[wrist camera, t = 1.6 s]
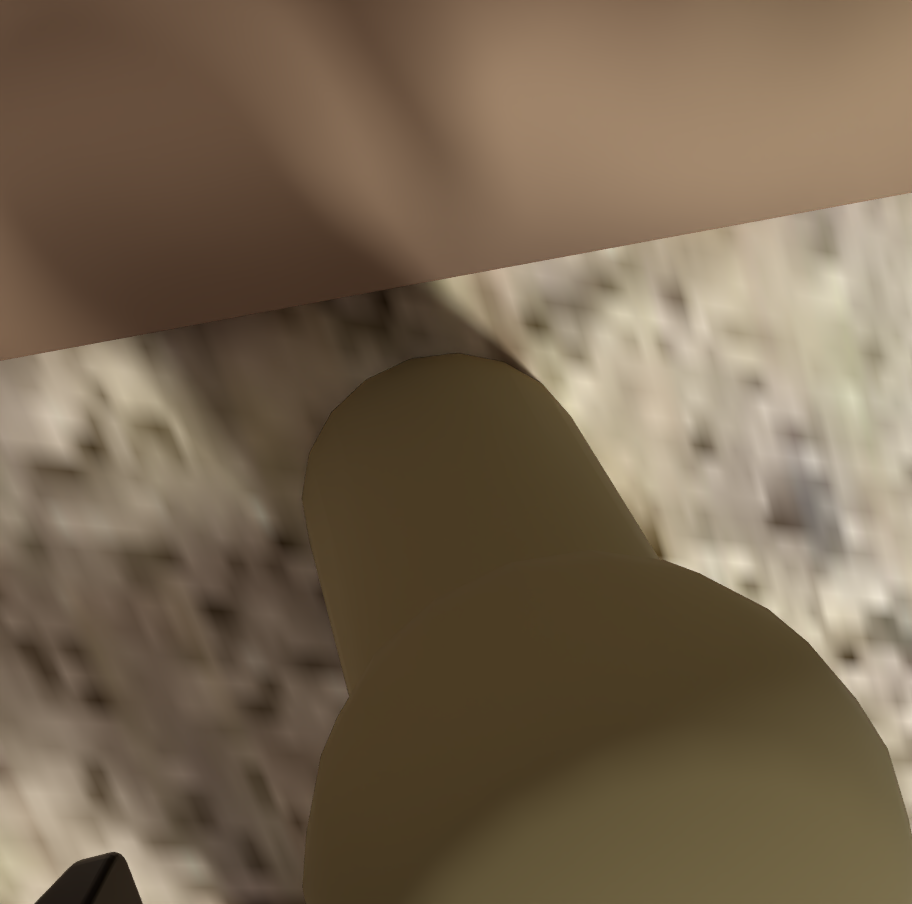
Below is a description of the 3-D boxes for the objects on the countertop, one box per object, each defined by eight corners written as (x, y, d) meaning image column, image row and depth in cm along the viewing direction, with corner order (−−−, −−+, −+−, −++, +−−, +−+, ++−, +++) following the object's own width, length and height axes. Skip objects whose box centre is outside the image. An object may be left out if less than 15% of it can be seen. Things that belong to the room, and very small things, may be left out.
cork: (359, 308, 14) (418, 517, 4) (634, 409, 16) (1230, 763, 5) (263, 586, 16) (112, 1314, 5) (526, 656, 17) (830, 1336, 6)
